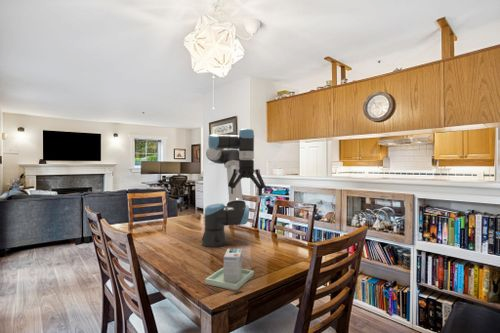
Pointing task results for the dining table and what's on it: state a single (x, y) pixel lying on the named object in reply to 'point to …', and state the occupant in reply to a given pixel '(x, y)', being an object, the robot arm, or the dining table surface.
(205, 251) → the dining table surface
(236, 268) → the light bulb box
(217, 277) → the tray
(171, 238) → the dining table surface
